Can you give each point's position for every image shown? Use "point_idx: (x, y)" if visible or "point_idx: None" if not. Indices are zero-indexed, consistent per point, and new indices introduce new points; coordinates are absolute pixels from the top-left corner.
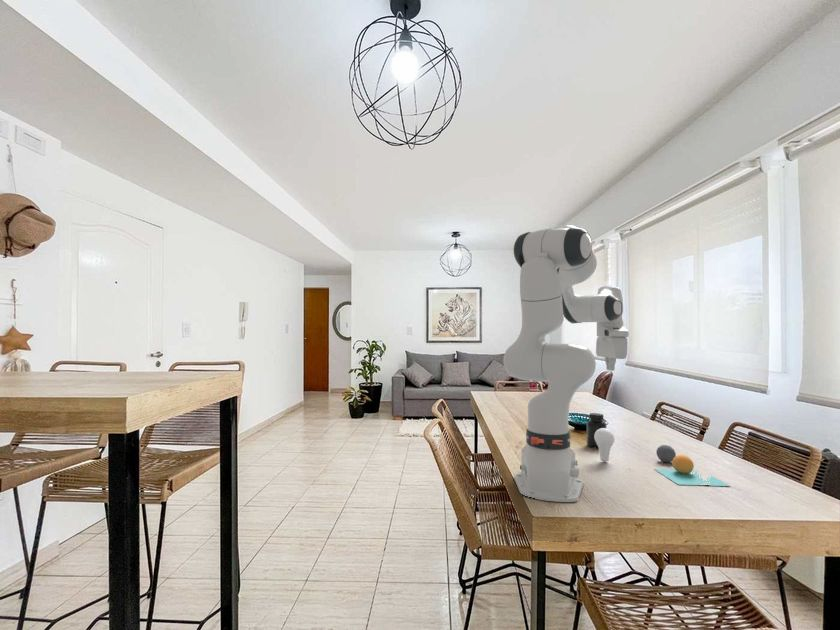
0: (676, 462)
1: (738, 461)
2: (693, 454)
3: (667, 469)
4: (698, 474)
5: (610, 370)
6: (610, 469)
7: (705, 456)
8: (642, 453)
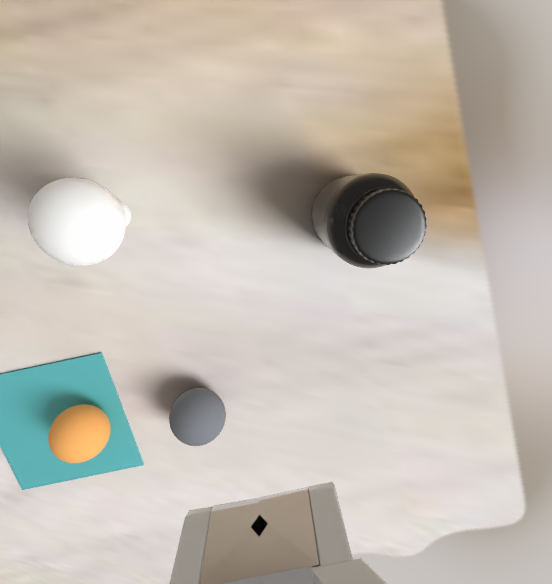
0: (57, 419)
1: None
2: None
3: (109, 387)
4: None
5: (194, 516)
6: None
7: None
8: (288, 355)
